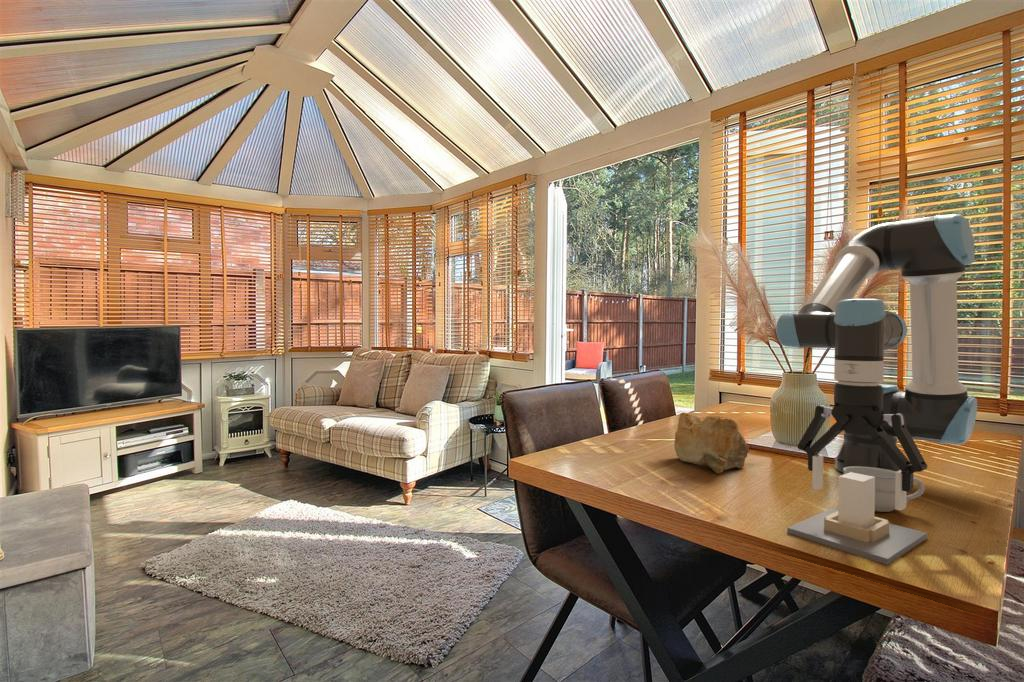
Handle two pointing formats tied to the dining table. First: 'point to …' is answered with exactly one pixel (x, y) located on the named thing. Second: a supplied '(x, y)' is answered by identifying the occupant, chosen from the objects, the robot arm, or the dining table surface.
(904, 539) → the socket plate
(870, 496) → the plug
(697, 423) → the rough brown rock
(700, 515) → the dining table surface
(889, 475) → the teacup
